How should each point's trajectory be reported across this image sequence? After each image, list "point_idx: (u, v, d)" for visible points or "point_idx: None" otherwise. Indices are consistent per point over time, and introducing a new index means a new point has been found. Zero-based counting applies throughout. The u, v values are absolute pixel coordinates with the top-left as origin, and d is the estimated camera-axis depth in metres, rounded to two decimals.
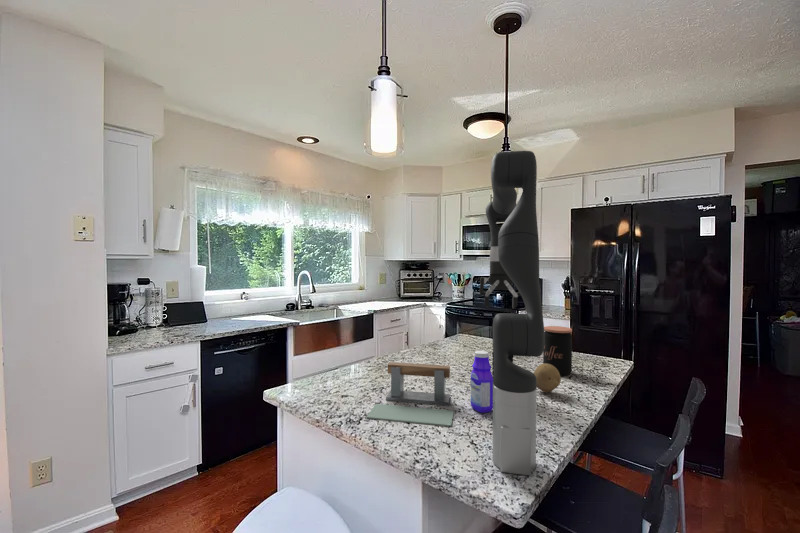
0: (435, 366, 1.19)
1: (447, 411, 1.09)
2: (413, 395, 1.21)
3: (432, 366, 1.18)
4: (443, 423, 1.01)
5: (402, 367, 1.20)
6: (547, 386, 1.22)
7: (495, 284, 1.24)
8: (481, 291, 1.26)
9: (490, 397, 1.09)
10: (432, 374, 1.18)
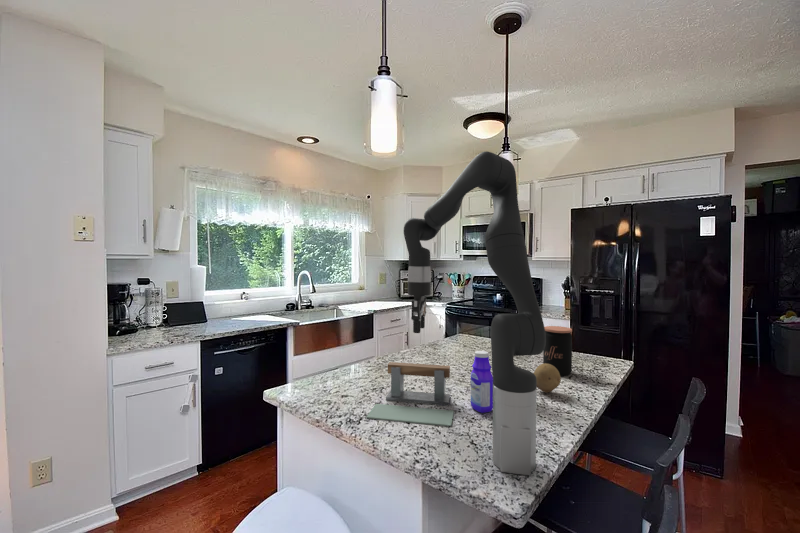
0: (435, 366, 1.19)
1: (447, 411, 1.09)
2: (413, 395, 1.21)
3: (432, 366, 1.18)
4: (443, 423, 1.01)
5: (402, 367, 1.20)
6: (547, 386, 1.22)
7: (423, 306, 1.18)
8: (419, 316, 1.13)
9: (490, 397, 1.09)
10: (432, 374, 1.18)
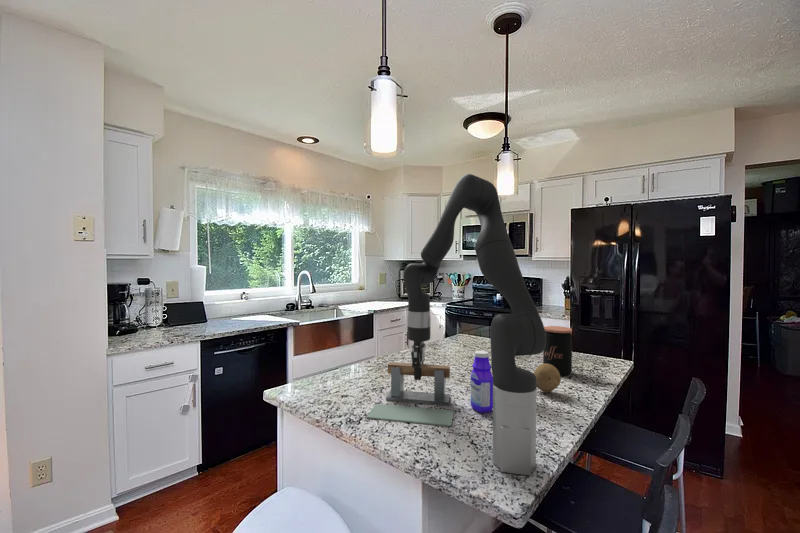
0: (435, 366, 1.19)
1: (447, 411, 1.09)
2: (413, 395, 1.21)
3: (432, 366, 1.18)
4: (443, 423, 1.01)
5: (402, 367, 1.20)
6: (547, 386, 1.22)
7: (423, 351, 1.18)
8: (420, 364, 1.16)
9: (490, 397, 1.09)
10: (432, 374, 1.18)
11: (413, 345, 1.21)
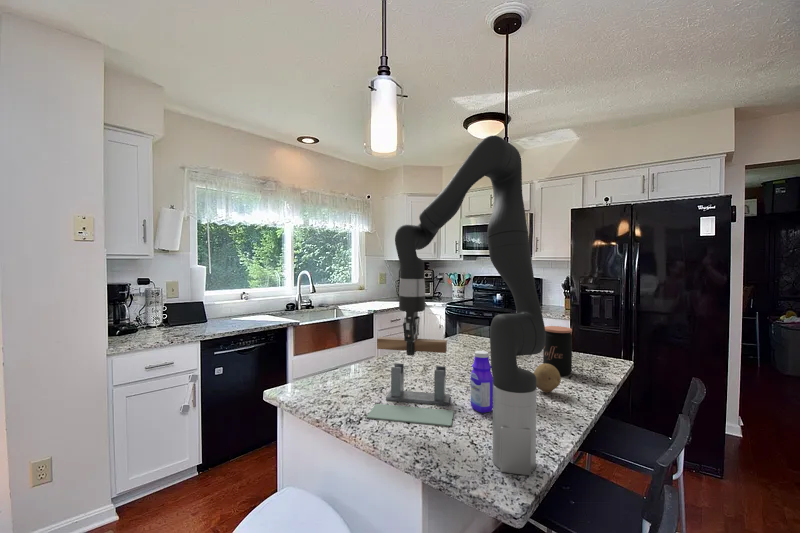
0: (430, 340, 1.06)
1: (447, 411, 1.09)
2: (413, 395, 1.21)
3: (426, 340, 1.06)
4: (443, 423, 1.01)
5: (393, 341, 1.07)
6: (547, 386, 1.22)
7: (417, 324, 1.06)
8: (413, 337, 1.03)
9: (490, 397, 1.09)
10: (427, 349, 1.05)
11: None
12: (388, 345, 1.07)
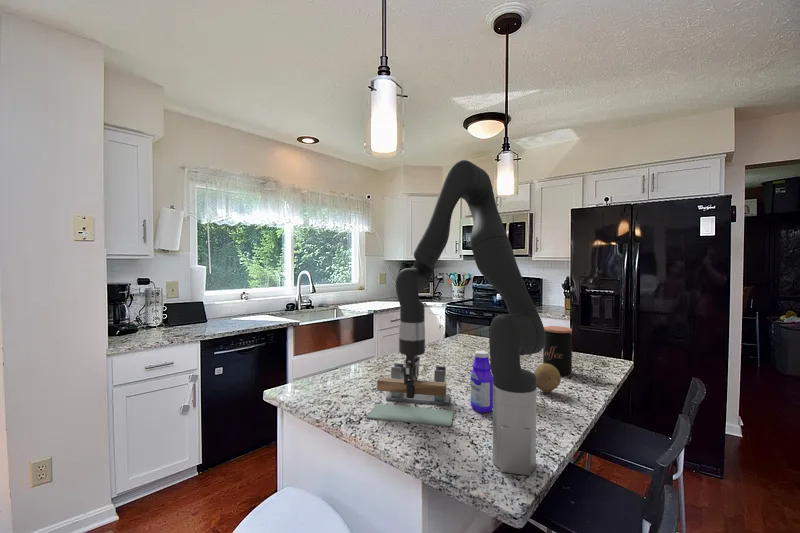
0: (430, 383, 1.06)
1: (447, 411, 1.09)
2: None
3: (426, 383, 1.06)
4: (443, 423, 1.01)
5: (393, 384, 1.07)
6: (547, 386, 1.22)
7: (417, 367, 1.06)
8: (413, 381, 1.04)
9: (490, 397, 1.09)
10: (426, 392, 1.05)
11: None
12: (388, 387, 1.08)
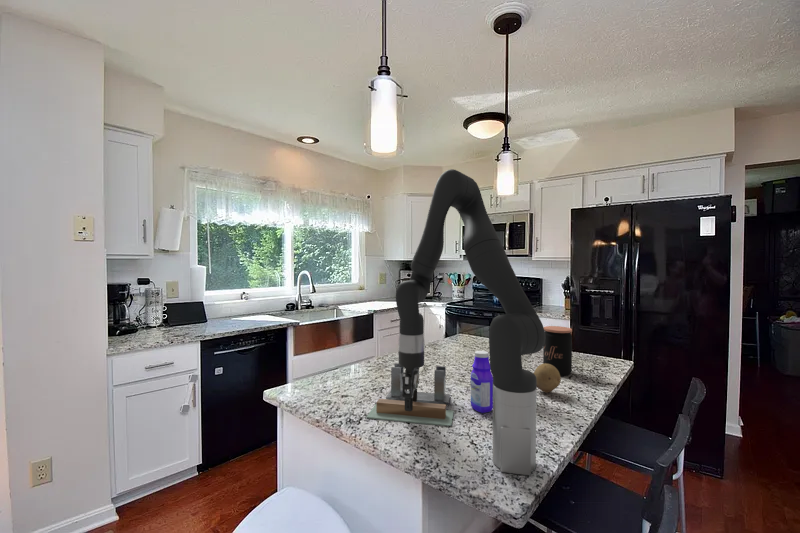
0: (429, 405, 1.06)
1: (447, 411, 1.09)
2: None
3: (425, 406, 1.06)
4: (443, 423, 1.01)
5: (392, 406, 1.07)
6: (547, 386, 1.22)
7: (416, 379, 1.05)
8: (411, 394, 1.02)
9: (490, 397, 1.09)
10: (426, 414, 1.05)
11: None
12: (387, 410, 1.08)
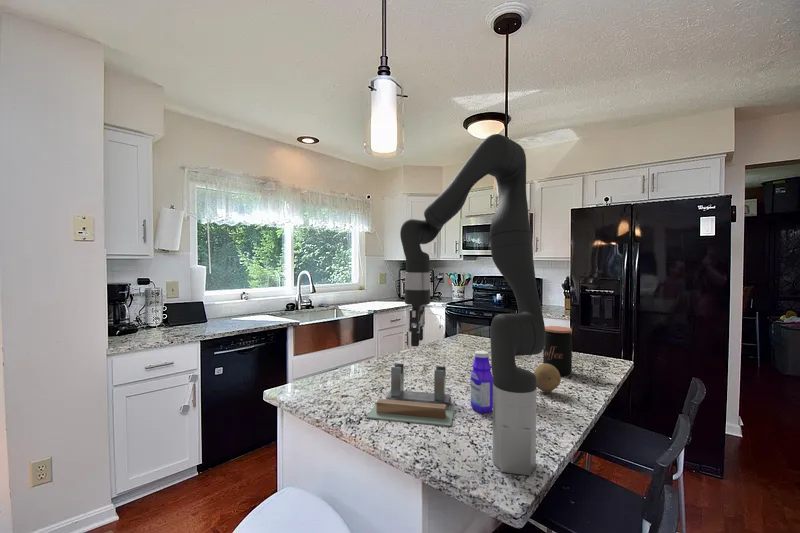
0: (429, 405, 1.06)
1: (447, 411, 1.09)
2: (413, 395, 1.21)
3: (425, 406, 1.06)
4: (443, 423, 1.01)
5: (392, 406, 1.07)
6: (547, 386, 1.22)
7: (422, 316, 1.06)
8: (418, 328, 1.02)
9: (490, 397, 1.09)
10: (426, 414, 1.05)
11: None
12: (387, 410, 1.08)
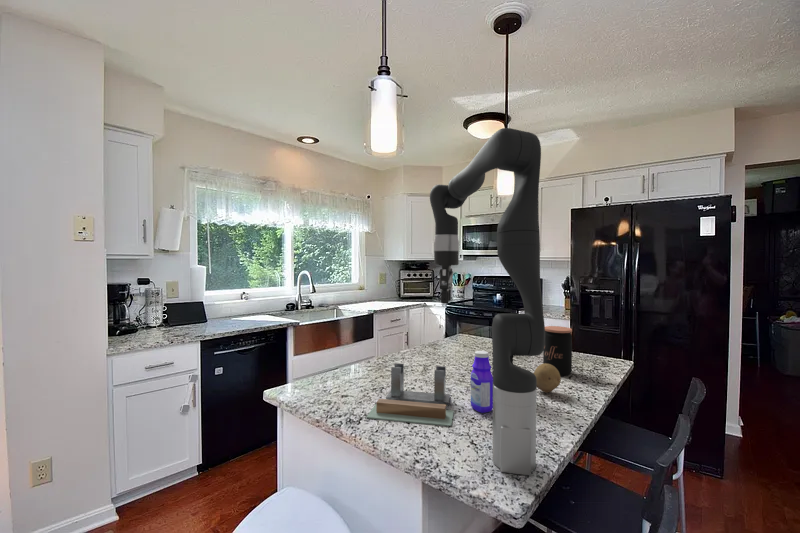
0: (429, 405, 1.06)
1: (447, 411, 1.09)
2: (413, 395, 1.21)
3: (425, 406, 1.06)
4: (443, 423, 1.01)
5: (392, 406, 1.07)
6: (547, 386, 1.22)
7: (451, 276, 1.13)
8: (448, 285, 1.08)
9: (490, 397, 1.09)
10: (426, 414, 1.05)
11: None
12: (387, 410, 1.08)
